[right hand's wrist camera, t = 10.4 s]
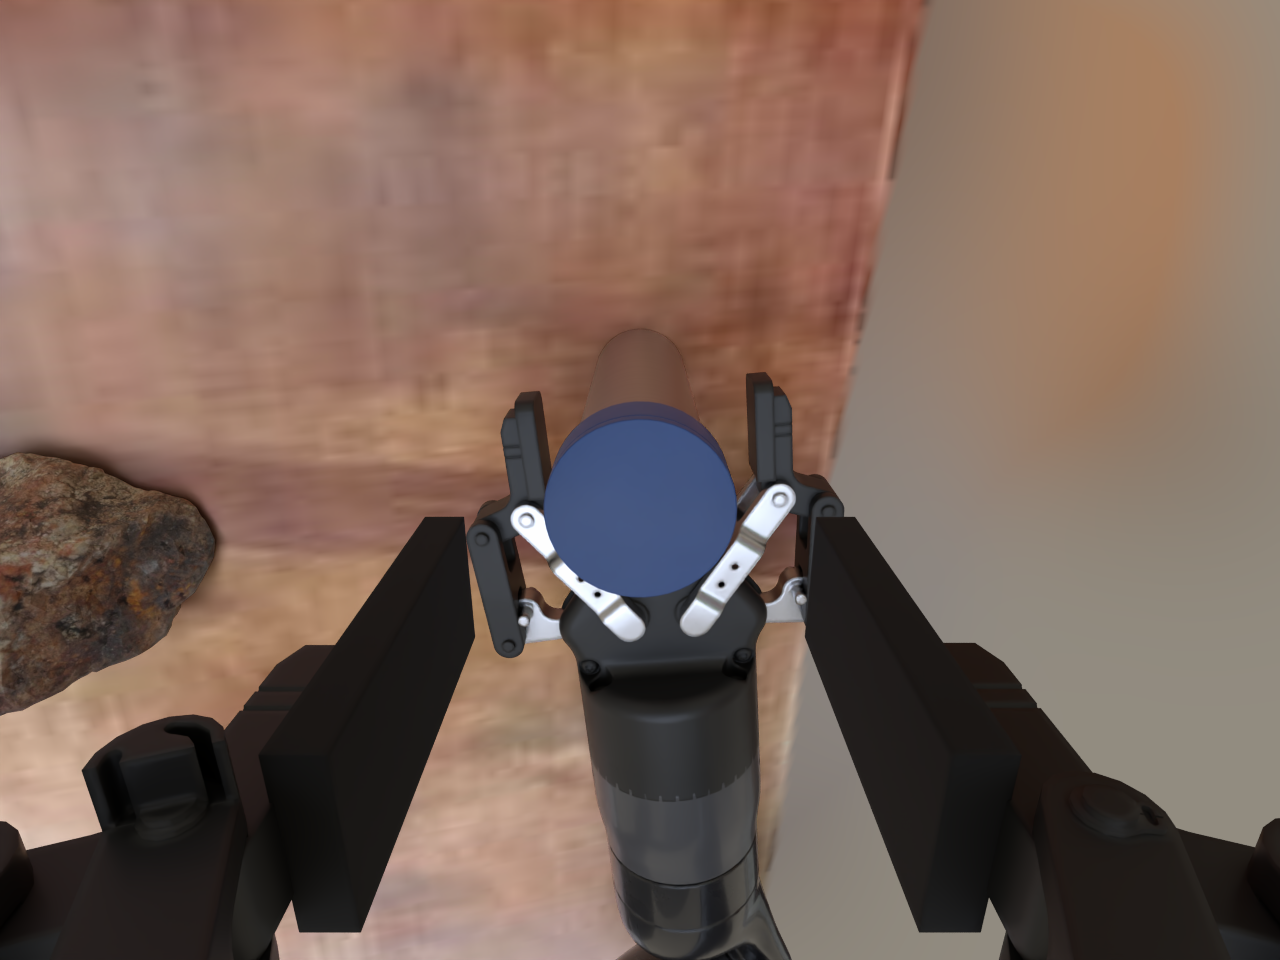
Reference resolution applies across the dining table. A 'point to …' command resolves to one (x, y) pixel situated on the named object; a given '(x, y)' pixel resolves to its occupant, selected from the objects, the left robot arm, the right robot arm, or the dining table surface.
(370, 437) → the dining table surface
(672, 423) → the lid
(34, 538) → the rock
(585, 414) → the metal flask
